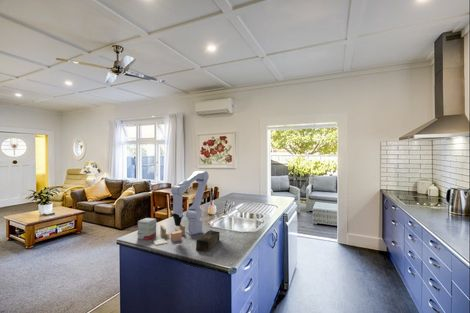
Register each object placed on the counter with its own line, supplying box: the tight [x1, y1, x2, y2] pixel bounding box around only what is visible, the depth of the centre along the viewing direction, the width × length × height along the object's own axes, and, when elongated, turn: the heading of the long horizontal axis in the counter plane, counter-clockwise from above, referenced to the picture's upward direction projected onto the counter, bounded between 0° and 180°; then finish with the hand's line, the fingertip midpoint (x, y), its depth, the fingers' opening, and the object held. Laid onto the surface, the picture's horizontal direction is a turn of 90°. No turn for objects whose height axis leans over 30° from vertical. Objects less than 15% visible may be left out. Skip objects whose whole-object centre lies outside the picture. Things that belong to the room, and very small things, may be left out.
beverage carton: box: [195, 229, 220, 253], centre depth 137 cm, size 8×19×7 cm, turn 163°
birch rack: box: [159, 222, 186, 240], centre depth 154 cm, size 14×10×6 cm
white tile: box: [152, 238, 168, 246], centre depth 140 cm, size 7×7×1 cm
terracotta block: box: [170, 231, 183, 243], centre depth 145 cm, size 6×4×5 cm, turn 120°
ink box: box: [137, 217, 157, 241], centre depth 148 cm, size 9×9×12 cm
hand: (177, 225), depth 144 cm, fingers closed
